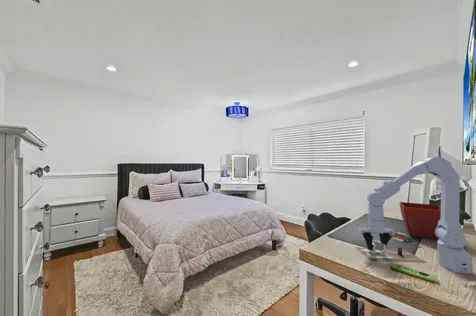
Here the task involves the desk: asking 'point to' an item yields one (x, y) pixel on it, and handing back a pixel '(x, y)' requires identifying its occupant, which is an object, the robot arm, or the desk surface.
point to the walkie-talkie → (402, 238)
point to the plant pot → (421, 219)
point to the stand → (391, 255)
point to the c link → (378, 247)
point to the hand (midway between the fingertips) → (376, 249)
